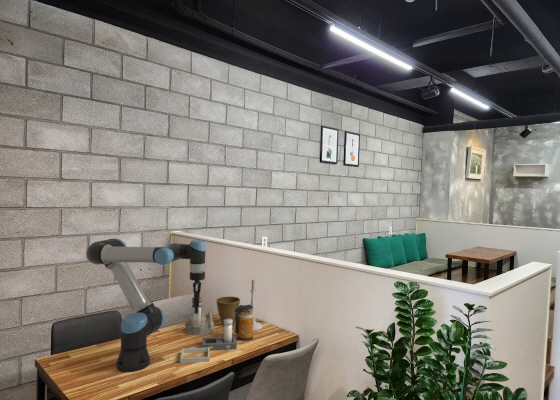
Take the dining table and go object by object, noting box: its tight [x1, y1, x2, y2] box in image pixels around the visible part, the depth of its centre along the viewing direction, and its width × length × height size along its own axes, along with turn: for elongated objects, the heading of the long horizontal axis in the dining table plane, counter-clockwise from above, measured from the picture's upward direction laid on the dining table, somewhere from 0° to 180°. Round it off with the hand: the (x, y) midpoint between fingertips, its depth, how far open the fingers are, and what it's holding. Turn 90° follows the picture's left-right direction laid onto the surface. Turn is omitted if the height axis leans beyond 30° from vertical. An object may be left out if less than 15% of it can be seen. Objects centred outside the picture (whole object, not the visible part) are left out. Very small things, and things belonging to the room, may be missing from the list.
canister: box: [233, 304, 254, 342], centre depth 216 cm, size 9×11×20 cm
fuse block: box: [201, 336, 238, 351], centre depth 204 cm, size 18×10×4 cm, turn 100°
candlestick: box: [250, 279, 263, 332], centre depth 237 cm, size 13×13×30 cm
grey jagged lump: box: [184, 310, 217, 336], centre depth 227 cm, size 16×16×15 cm
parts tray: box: [179, 347, 211, 365], centre depth 190 cm, size 14×12×3 cm
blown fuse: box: [191, 296, 203, 328], centre depth 190 cm, size 5×5×14 cm
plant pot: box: [216, 296, 241, 327], centre depth 241 cm, size 15×15×16 cm
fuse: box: [223, 319, 233, 342], centre depth 205 cm, size 5×5×14 cm
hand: (196, 317), depth 190 cm, fingers closed on blown fuse, 4 cm apart
